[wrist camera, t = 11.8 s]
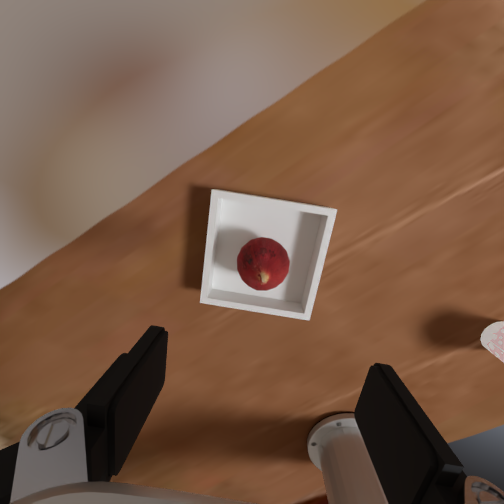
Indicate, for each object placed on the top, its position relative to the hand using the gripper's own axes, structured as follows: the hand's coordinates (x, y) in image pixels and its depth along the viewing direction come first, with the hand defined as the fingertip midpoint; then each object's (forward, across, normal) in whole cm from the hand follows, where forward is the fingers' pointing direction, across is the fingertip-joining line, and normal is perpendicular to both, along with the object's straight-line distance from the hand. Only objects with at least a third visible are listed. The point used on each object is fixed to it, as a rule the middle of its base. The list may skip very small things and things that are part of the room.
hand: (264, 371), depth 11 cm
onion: (+20, 0, 0) cm, 20 cm away
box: (+20, 0, 0) cm, 20 cm away
